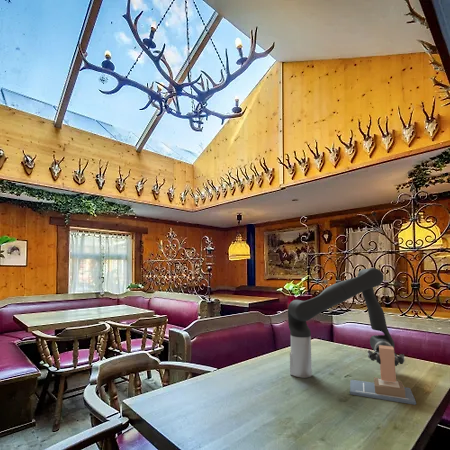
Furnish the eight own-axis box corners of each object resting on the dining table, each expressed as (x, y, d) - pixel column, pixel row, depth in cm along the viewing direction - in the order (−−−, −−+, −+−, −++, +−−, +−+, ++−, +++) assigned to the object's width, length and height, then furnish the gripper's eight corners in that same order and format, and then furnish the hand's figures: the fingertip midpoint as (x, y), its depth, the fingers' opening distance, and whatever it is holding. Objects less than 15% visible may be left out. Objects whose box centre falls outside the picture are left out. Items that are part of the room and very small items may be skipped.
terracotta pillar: (381, 380, 118) (379, 348, 120) (380, 376, 123) (378, 345, 124) (396, 382, 116) (394, 349, 118) (394, 378, 121) (392, 346, 122)
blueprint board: (349, 394, 118) (349, 383, 118) (350, 381, 131) (350, 372, 131) (416, 404, 109) (415, 392, 110) (410, 390, 122) (409, 380, 122)
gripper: (365, 340, 137) (366, 350, 121) (402, 344, 131) (408, 354, 116) (366, 358, 136) (367, 369, 120) (403, 362, 130) (409, 375, 115)
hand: (387, 362), depth 118 cm, fingers closed on terracotta pillar, 5 cm apart
